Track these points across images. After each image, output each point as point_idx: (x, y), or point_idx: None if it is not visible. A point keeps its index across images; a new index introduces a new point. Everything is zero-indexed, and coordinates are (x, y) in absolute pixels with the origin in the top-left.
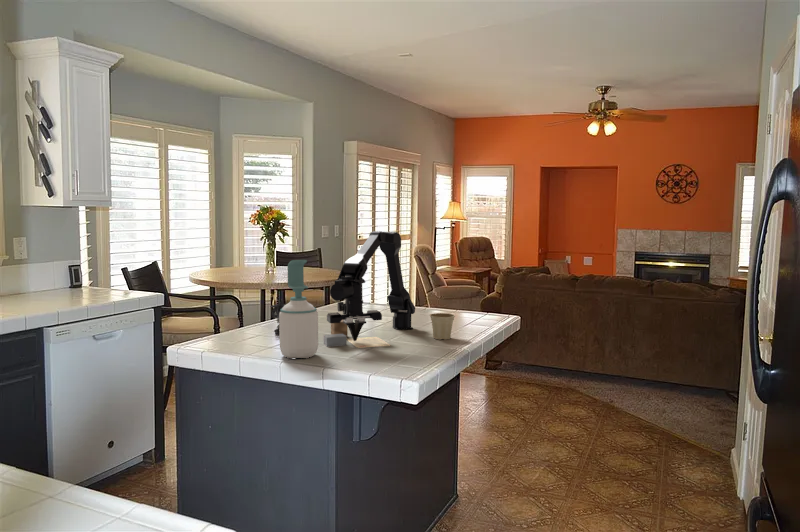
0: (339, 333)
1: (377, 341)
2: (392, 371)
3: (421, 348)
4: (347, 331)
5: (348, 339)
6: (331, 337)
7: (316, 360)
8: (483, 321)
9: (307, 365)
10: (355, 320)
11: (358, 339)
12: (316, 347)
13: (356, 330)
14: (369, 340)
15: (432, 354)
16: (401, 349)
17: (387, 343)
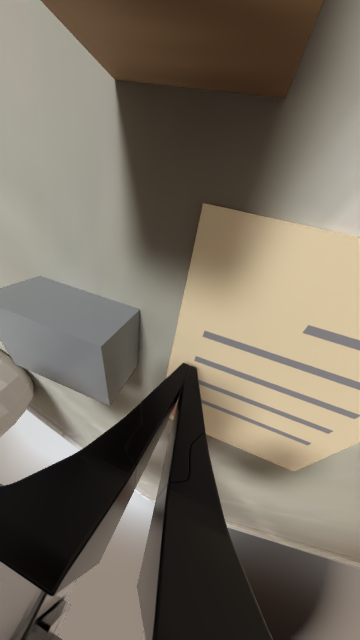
0: (146, 33)
1: (329, 417)
2: (146, 488)
3: (337, 525)
4: (318, 12)
5: (211, 253)
6: (36, 372)
7: (47, 407)
8: None
9: (37, 413)
10: (143, 624)
11: (284, 303)
12: (18, 418)
13: (166, 457)
14: (319, 375)
15: (286, 530)
16: (271, 492)
17: (320, 458)
